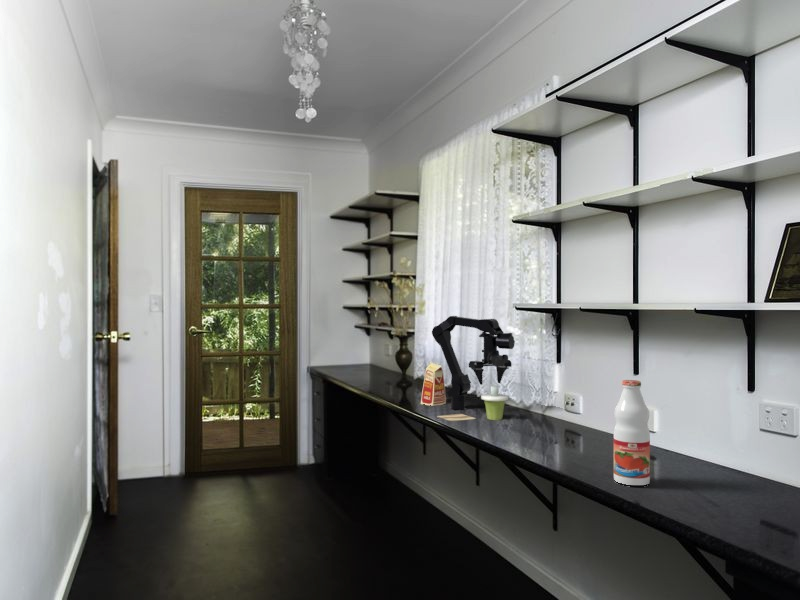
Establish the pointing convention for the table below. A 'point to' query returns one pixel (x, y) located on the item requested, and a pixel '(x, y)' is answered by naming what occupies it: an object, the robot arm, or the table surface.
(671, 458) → the table surface
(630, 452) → the fruit juice
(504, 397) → the lid
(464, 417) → the mat
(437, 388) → the milk carton
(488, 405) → the plant pot
